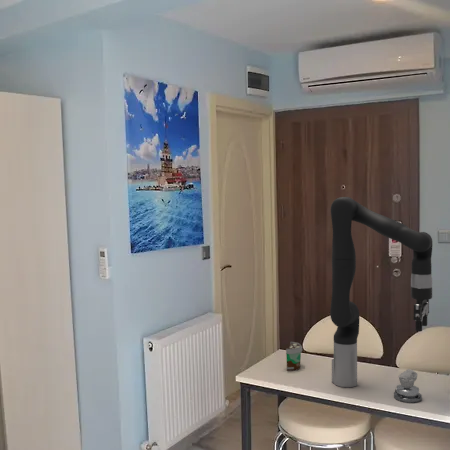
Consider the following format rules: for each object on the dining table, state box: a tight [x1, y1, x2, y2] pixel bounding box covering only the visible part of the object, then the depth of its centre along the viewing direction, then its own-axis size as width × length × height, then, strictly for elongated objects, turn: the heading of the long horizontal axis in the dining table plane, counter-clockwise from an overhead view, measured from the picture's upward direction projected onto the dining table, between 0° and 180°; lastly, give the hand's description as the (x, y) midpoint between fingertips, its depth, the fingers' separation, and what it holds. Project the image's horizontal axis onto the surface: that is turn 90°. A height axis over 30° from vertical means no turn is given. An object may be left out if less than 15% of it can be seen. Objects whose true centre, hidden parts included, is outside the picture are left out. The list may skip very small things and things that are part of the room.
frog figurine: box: [398, 368, 418, 389], centre depth 202 cm, size 6×7×7 cm
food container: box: [285, 341, 303, 372], centre depth 239 cm, size 12×6×10 cm, turn 164°
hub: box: [393, 384, 423, 404], centre depth 202 cm, size 10×10×4 cm
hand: (421, 328), depth 203 cm, fingers open, 8 cm apart
